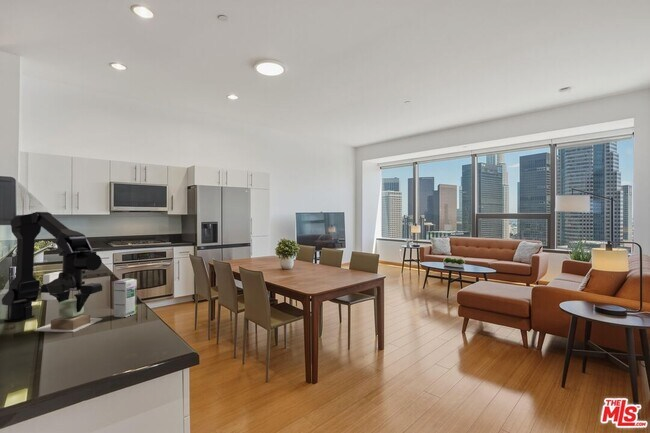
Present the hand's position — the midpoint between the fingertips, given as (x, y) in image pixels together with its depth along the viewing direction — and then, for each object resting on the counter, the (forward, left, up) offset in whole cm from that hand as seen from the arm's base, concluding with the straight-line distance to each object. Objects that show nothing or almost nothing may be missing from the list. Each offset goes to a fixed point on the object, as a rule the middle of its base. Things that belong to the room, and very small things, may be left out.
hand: (71, 311), depth 116 cm
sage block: (0, 0, -1) cm, 1 cm away
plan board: (-2, +2, -6) cm, 6 cm away
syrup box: (+10, +15, -6) cm, 19 cm away
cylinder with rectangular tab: (-40, +38, -6) cm, 55 cm away
